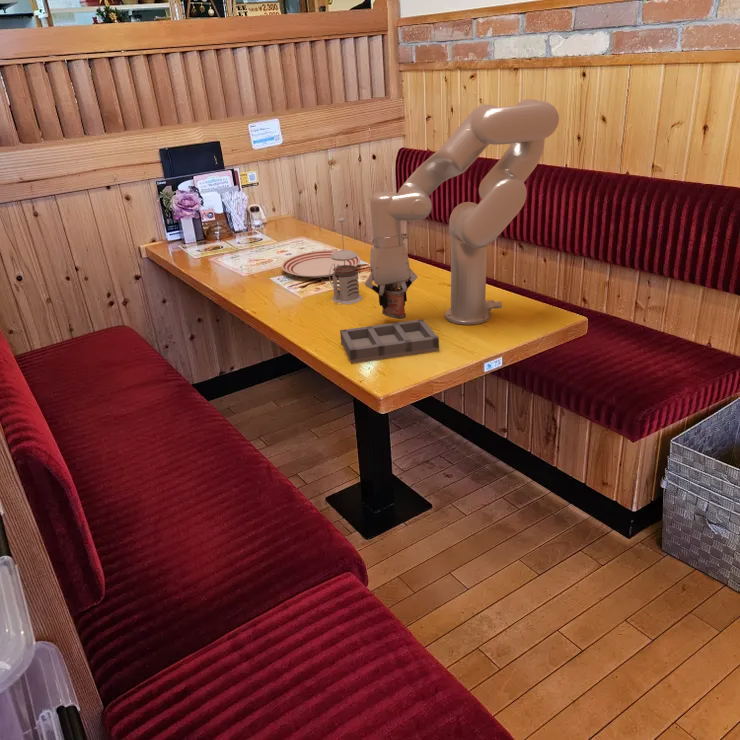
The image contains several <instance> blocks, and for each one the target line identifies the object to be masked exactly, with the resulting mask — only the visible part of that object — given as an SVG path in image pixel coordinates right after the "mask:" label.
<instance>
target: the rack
mask: <svg viewBox="0 0 740 740" xmlns="http://www.w3.org/2000/svg"><path fill="white" fill-rule="evenodd" d="M339 331H340V332H339V334H340V342H341V343H340V344H341V345H342V348H343V349H344V351H345V354H346V356H347V358H348V359H349V362H350V363H351V364H357V363H365V362H372V361H379V360H384V359H385V360H386V359H393V358H399V357H406V356H407V357H408V356H413V355H422V354H427V353H434V352H435V353H437V352H439V351H440V338H439V336H437V334H436V333H435V332H434V331H433V330H432V328H431V327H430V326H429V325H428V323H427V322H426V321H425V319H423V318H422V319H415V320H414V319H413V320H408V321H400V322H399V321H398V322H393V323H391V322H390V323H385V324H377V325H376V324H375V325H368V326H362V327H356V328H355V327H353V328H346V329H340V330H339Z"/></svg>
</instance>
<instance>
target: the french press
mask: <svg viewBox="0 0 740 740" xmlns="http://www.w3.org/2000/svg"><path fill="white" fill-rule="evenodd" d="M345 222H346V221H345V218H344V217H340V218H338V223H341V225H343V223H345ZM343 231H344V229H343V227H341V234H342V235H341V237H342V240H344V232H343ZM336 251H337V252H335V253H333V254H332V255H331V259H333V260H336V261H344V265H341V266H339V264H337V266H336V267H335V264H334V267H335V268H334V269H333V271H334V273H333V276H332V281H331V277H330V273H329V277H328V278H329V282H330V285H331V286H332V287H333V296H332V297H331V299H332V300H333V301H334V302H336V303H341V304H340V305H342V304H345V305H352V303H354V304H357V303H360V302H361V301H363V299H362V297H363V296H362V295H361V294H360V293H359V292H360V289H359V287H360V285H359V272H358V271H357V269H358V267H357V266H356V267H355V266H353V265H345V260H351V259H354V258H356V257H357V255H358V253H356V252H355V251H353V250H351V249H350V250H349V249H345V245H344V242H342V249H340V250H336ZM332 266H333V265H332ZM332 266H331V268H332ZM331 268H330V271H331ZM360 300H361V301H360ZM359 301H360V302H359ZM356 302H357V303H356ZM336 303H335V304H336Z"/></svg>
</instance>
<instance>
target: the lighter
mask: <svg viewBox="0 0 740 740" xmlns="http://www.w3.org/2000/svg"><path fill="white" fill-rule="evenodd" d="M400 288H401V283H399V282H396V283H391V284H385V287H384V294H385V296H386V309H383V308H382V311H381V313H382V315H384V316H386V317H388V318H392V319H396V320H404V319H406V308H405V306H404V290H402V289H400Z"/></svg>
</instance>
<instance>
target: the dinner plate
mask: <svg viewBox="0 0 740 740" xmlns="http://www.w3.org/2000/svg"><path fill="white" fill-rule="evenodd" d="M337 251H338V250H316V251H315V250H314V251H310V252H304V253H300V254H297V255H295V256H292V257H289V258H287V259H286V260H285V261H283V262H282V264H281V269H282V271H283V272H285V273H287V274H290V275H293V276H298V277H301V278H302V277H303V278H306V277H309V278H308V279H322V278H321V277H326V278H329V273H330V276H332V277H333V273H334V271H333V269H334V268H335V267H336V266H337V264H339V266H341V265H344V261H336V260H333V259H331V255H332V254H333V253H335V252H337ZM360 263H361V258H360V256H359V255H358V254H357V257H356V258H354V259H351V260H345V265H353V266H355V267H356V268H357V267H358V266H359V264H360ZM334 264H335V267H334ZM332 265H333V266H332ZM331 266H332V268H331ZM330 268H331V271H330Z"/></svg>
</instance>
